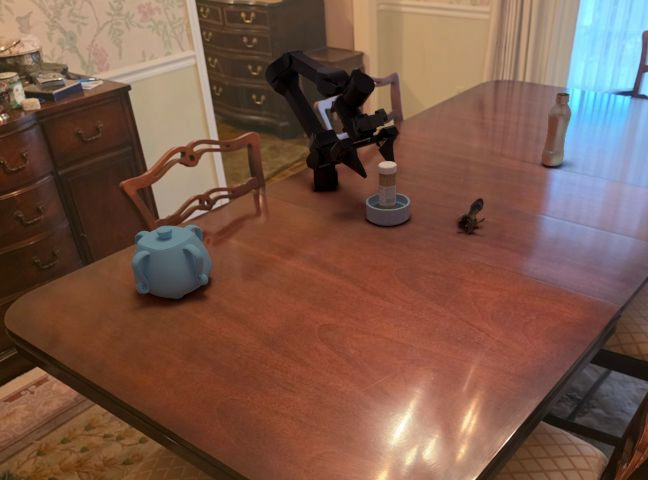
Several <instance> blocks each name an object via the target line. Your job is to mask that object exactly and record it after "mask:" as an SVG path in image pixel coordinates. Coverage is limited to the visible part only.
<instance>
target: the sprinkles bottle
mask: <svg viewBox="0 0 648 480" xmlns="http://www.w3.org/2000/svg"><path fill="white" fill-rule="evenodd" d="M397 171H398V166H397V163H396V161H395V162H391V161H386V160H384V161H381V162H380V163H378V165H377V172H378V193H379V209H389V210H390V209H396V193H397Z"/></svg>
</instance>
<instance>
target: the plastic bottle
mask: <svg viewBox="0 0 648 480" xmlns="http://www.w3.org/2000/svg"><path fill="white" fill-rule="evenodd" d="M570 96H571V95H570V93H568V92H558V93H556V96H555V99H554V104H553V105H552V107H551V108H550V109H549V112H548V115H547V133H546V138H545V143H544V148H543V149H542V153H541V162H542V164H543V165H545V166H547V167H558V166H560V165H561V164H562V163H563V161H564V160H565V159H564V158H565V143H566V136H567V132H568V128H569V126H570V125H569V124H570V121H571V117H572V109H571V107H570V105H569V102H570V98H571V97H570Z"/></svg>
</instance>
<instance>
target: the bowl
mask: <svg viewBox="0 0 648 480" xmlns="http://www.w3.org/2000/svg"><path fill="white" fill-rule="evenodd" d="M365 217H366V219H367V220H368V221H369V222H370V223H373V224H375V225H378V226H383V227H391V226H397V225H400V224H403V223H405V222H406V221H408V220H409V218H410V217H411V199H410V198H409V197H408V196H407V195H405V194H402V193H397V192H396V209H390V210H389V209H379V192H378V193H375V194H372V195H370V196H369V197H367V198H366V200H365Z"/></svg>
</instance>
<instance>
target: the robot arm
mask: <svg viewBox="0 0 648 480" xmlns="http://www.w3.org/2000/svg"><path fill="white" fill-rule="evenodd" d="M264 72H265V73H264V76H265V80H266V82H267V83H268V84H269V87H271V88H272V90H273V91H274V92H276V94H279V95H281V96H282V97H284V99H285V100H286V102H287V104H288V106H289V107H290V109H291V110H292V112H293V114H294V115H295V118H296V119H297V121H298V122H299V124H300V126H301V127H302V129H303V131H304V133H305V134H306V136H307V138H308V142H309V143H308V150H309V154H308V155H307V157H306V158H305V163H306V166H307V168H308V169H311V170H312V171H313V172H312V173H313V174H312V175H313V192H326V191H337V190H338V186H339V171H338V168H336V166H337V165H341V164H342V165H345V166H346V167H347V168H349V169H351V170H352V171H354V172H355V173H356V174H357V175H359V176H360V177H362V178H363V179H367V178H368V174H367V172H366V169H365V167H364V165H363V163H362V161H361V159H360V158H359V155H358V149H361V148H365V147H368V146H371V145H376V146H377V147H378V148H377V151H378V152H379V154H380V155H381V156H382V158H383V159H384V161H391V162H395V163H396V160H395V152H394V143H395V141H396V140H397V138H398V136H399V135H400V134H401V133H400V130H399V129H398V127H397V126H396V125H394V124H390V125H388V126H386V125H385V123H386V122H388V120H389V117H388V114H387V111H386V110H385V108H384V107H382V108H379V109H377V110H374V113H373V114H368V113H367V112H364V113H363V111H362V109H361V108H362V107H363V106H364V105H365V103H366V102H367V101H368V100H369V98H370V96H371V95H372V94H373V92H374V91H375V89H376V82H375V81H374V79H373V77H371V76H370V75H369V74H367V73H365V72H362V70H361V69H360V68H356V69H355V68H354V69H352V71H351V73H350V74H349V73H348V72H347V71H346V70H345V69H342V68H340V67H339V68H338V67H329V66H325V65H323V64H322V63H321V62H319V61H317V60H316V59H314V58H312V57H311V56H309V55H307V54H305V53H304V51H303V50H301V49H298V48H297V49H292V50H287V51H285V52H283V54H282V55H281V56H280V57H278V58H277V59H275V60H273V62H271V63H270V64H268V65H267V66H266V69H265V71H264ZM300 76H302V77H304V78H305V79H307V80H309V81H310V82H312V83H313V84H314V85H315V87H316V88H315V89H316V91H317V92H318V93H319V94H320V95H322V97H323V98H325V99H330V98H331V99H332V98H335V97H337V98H336V99H335V100H332V101H331V104H330V105H331V106H330V111H329V112H330V114H334V113H336V114H337V117H338V118H339V120H340V122H341V124H342V126H343V127H342V129H341V131H342V134H347V136H348V137H346V138H345V137H344V138H342V139H340V138H339V136H338V135H337V133H336V131H335V130H334V129H333V128H330V129H326V128H325V127H324V126H323V124H322V123H321V120H320V118H319V117H318V116H317V114H316V112H315V110H314V108H313V107H312V106H311V104H310V102H309V100H308V99H307V97H306V95H305V94H304V92H303V90H302V88H301V87H300ZM380 127H381V129H380V130H379V131H378V128H380ZM377 131H378V132H377ZM375 133H377V134H375Z"/></svg>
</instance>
